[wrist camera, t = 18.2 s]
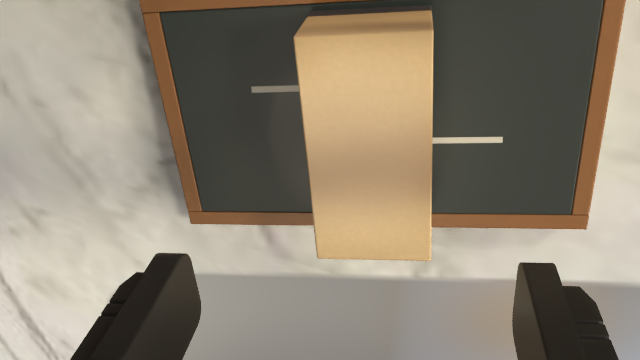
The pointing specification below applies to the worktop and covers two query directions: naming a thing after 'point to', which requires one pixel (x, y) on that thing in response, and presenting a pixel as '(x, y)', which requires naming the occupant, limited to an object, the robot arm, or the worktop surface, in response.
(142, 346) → the robot arm
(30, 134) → the worktop surface
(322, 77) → the eraser
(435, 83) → the chalkboard
